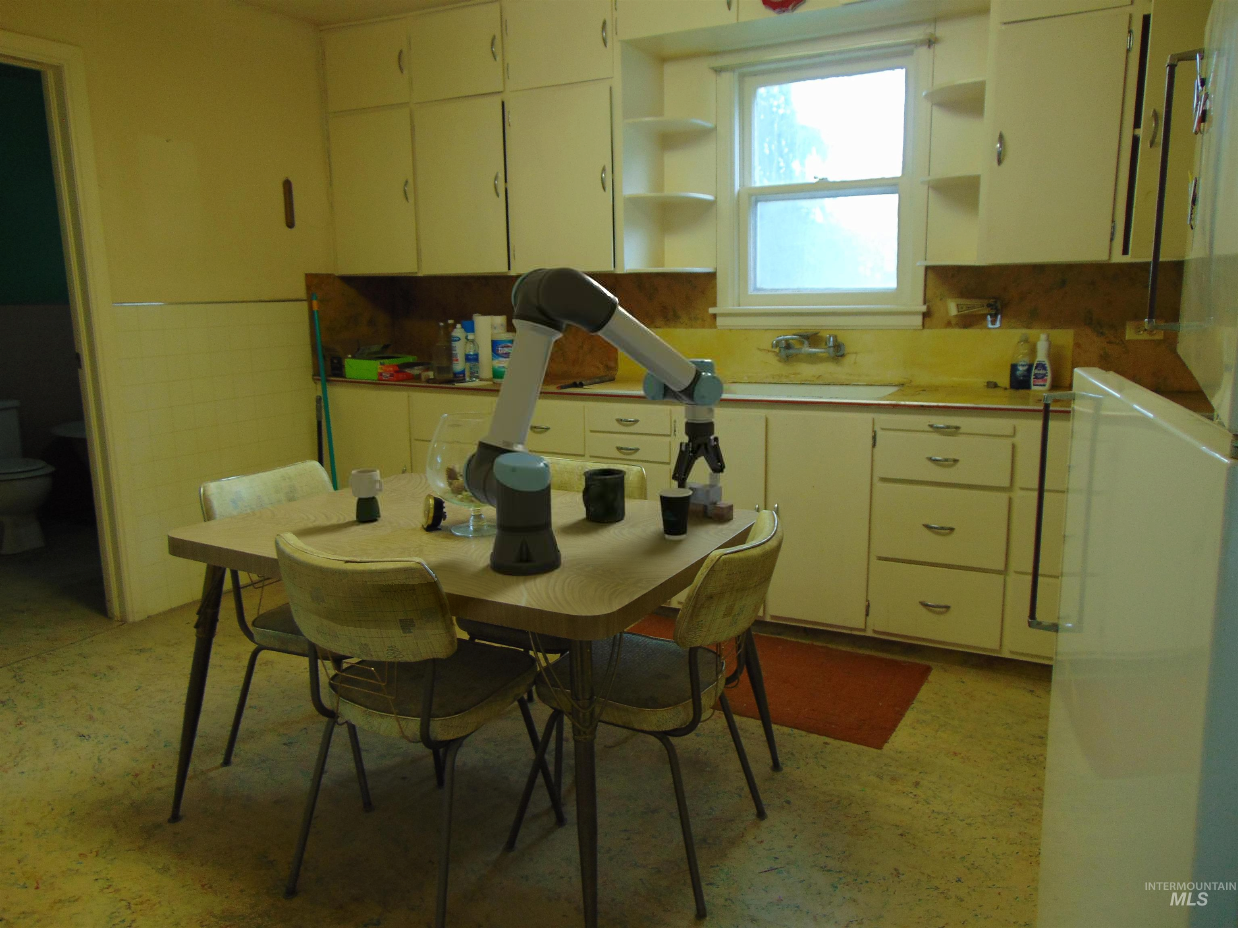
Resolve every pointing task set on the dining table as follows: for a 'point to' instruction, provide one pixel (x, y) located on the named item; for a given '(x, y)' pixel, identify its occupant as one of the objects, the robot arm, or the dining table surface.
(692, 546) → the dining table surface
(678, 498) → the dixie cup
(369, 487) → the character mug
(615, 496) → the mug
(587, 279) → the robot arm
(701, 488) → the clip
